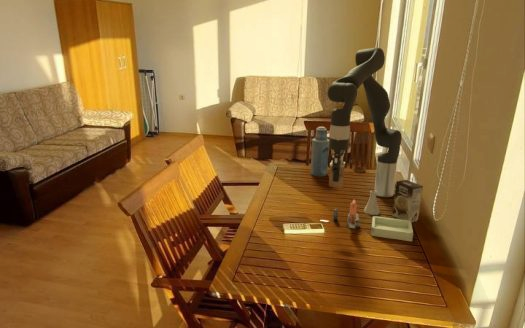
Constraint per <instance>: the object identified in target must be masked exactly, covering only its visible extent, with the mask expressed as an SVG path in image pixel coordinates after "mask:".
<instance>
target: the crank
mask: <svg viewBox="0 0 525 328" xmlns="http://www.w3.org/2000/svg"><path fill="white" fill-rule="evenodd" d="M347 220H348V221H349V227H348V229H349V228H350V229H356V228H355V224H356V222H359V223H360V214H358V203H356V199H352V202H350V205H349V213H348V214H347Z"/></svg>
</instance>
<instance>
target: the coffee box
mask: <svg viewBox="0 0 525 328" xmlns="http://www.w3.org/2000/svg"><path fill="white" fill-rule="evenodd" d="M423 188H424V186H423V185H421V184H418V183H417V182H413V181H410V180H408V179H402V180H396V181H395V188H394V199H393V206H392V215H391V216H392V217H394V218H395V219H400V220H408V221H411V223H414V221H415V222H418V221H417V220H419V213H420V208H421V203H422V202H421V200H422V195H423Z"/></svg>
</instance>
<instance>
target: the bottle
mask: <svg viewBox="0 0 525 328" xmlns="http://www.w3.org/2000/svg"><path fill="white" fill-rule="evenodd" d="M327 132H328V131H327V128H326V127H325V126H318V127H316V129H315V137H314V138H312V140H311V157H310V160H311V161H310V175H312V176H314V177H319V178H320V177H326V176H327V175H328V169H329V165H328V164H329V152H330V148H329V138H328V136H327Z"/></svg>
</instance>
